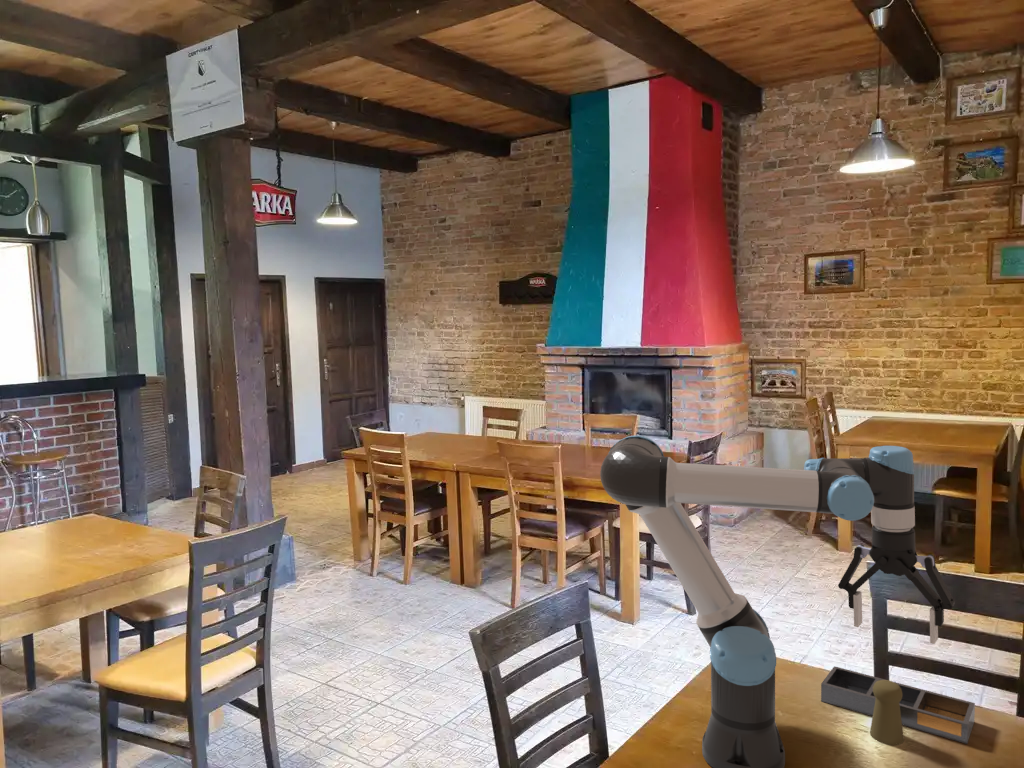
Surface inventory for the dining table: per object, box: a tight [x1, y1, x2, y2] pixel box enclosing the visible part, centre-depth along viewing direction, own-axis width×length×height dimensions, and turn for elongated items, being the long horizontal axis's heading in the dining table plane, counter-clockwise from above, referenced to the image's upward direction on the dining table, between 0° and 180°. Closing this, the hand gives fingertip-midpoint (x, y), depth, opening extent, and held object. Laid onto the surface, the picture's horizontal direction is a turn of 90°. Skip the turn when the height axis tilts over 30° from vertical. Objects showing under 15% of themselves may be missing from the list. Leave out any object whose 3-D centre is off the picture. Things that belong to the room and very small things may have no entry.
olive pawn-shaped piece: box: [869, 679, 905, 746], centre depth 146 cm, size 6×6×11 cm
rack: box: [820, 666, 976, 745], centre depth 155 cm, size 27×10×4 cm, turn 51°
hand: (894, 632), depth 145 cm, fingers open, 13 cm apart
